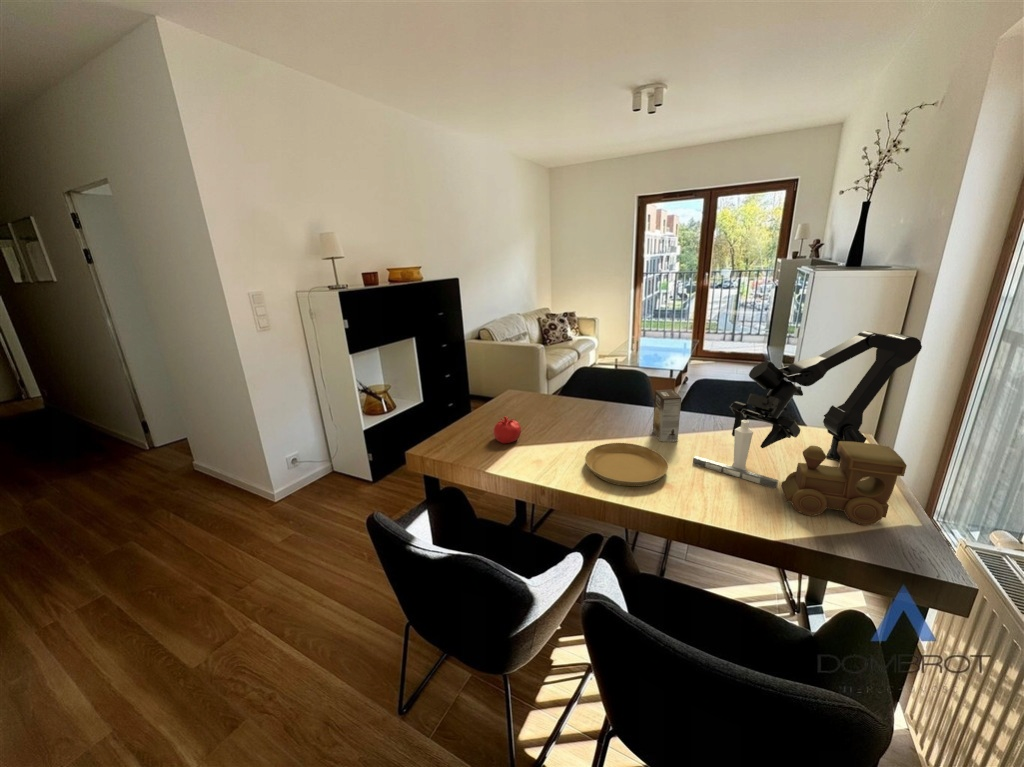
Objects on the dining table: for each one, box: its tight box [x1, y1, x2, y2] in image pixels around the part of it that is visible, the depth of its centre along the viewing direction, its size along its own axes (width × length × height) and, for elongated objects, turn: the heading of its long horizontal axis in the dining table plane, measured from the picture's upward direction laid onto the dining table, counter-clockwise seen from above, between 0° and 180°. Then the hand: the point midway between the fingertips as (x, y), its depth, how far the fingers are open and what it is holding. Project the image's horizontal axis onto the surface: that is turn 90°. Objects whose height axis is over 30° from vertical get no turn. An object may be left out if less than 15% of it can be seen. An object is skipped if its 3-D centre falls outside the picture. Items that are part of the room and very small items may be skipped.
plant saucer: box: [584, 442, 669, 487], centre depth 122 cm, size 24×24×3 cm
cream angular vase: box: [731, 419, 754, 471], centre depth 117 cm, size 5×4×15 cm
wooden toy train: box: [781, 441, 908, 526], centre depth 97 cm, size 20×11×17 cm, turn 66°
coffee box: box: [652, 388, 682, 442], centre depth 140 cm, size 9×6×16 cm
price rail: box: [692, 455, 779, 490], centre depth 116 cm, size 2×22×2 cm, turn 45°
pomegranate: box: [493, 416, 522, 444], centre depth 145 cm, size 10×10×9 cm
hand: (746, 441), depth 118 cm, fingers open, 9 cm apart
